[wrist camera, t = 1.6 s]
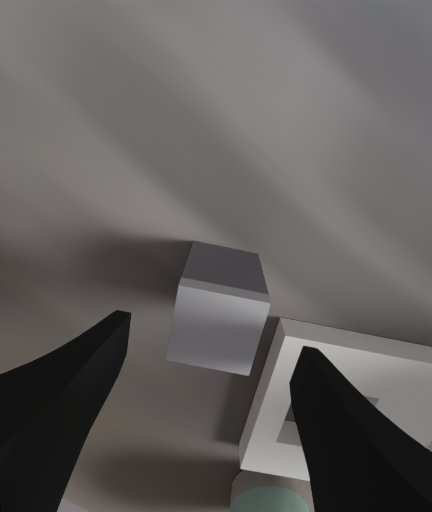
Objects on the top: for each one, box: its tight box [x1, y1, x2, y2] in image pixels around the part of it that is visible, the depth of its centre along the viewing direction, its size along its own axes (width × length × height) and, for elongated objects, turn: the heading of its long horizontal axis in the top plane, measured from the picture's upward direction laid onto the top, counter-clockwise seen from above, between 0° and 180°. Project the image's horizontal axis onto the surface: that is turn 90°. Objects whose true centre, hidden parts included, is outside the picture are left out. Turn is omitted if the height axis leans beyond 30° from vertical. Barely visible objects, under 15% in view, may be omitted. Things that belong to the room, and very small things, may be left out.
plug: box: [166, 241, 271, 376], centre depth 16 cm, size 4×4×6 cm
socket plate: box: [239, 317, 432, 481], centre depth 21 cm, size 12×12×2 cm
